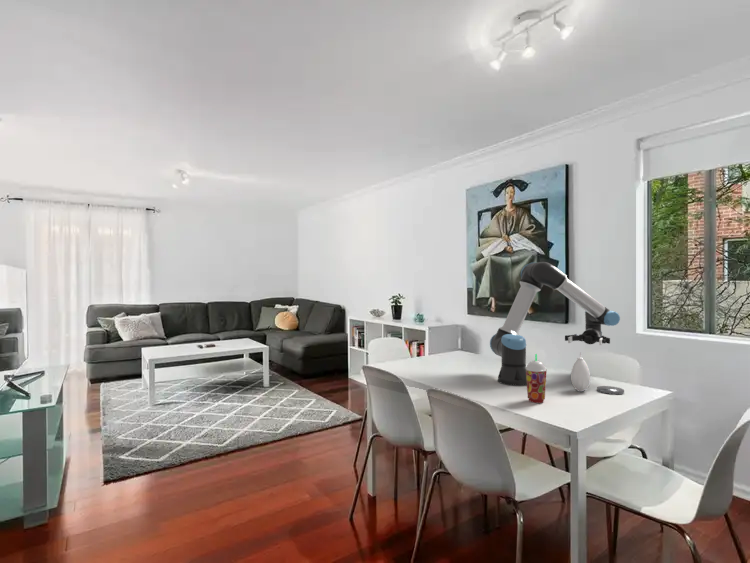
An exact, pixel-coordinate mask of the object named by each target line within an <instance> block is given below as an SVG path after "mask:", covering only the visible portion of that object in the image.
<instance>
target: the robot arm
mask: <svg viewBox="0 0 750 563" xmlns="http://www.w3.org/2000/svg"><path fill="white" fill-rule="evenodd" d="M567 276H568V275H567V274H566V273H564V272H563V271H561V269H559V268H558V267H556V266H555V265H553V264H551V263H549V262H546V261H537V262H530V263H527V264H526V265H524V266H523V267H522V269H521V270H520V280H519V285H520V288H519V289H518V291H517V293H516V296H515V298H514V301H513V303H512V305H511V307H510V309H509V311H508V314H507V316H506V319H505V321H504V323H503V324H502V326H500V327H499V328H498V329H497V330H496V333H495V334H493V335H492V336H491V338H490V340H489V346H490V349H491V351H492V353H493V354H495V355H496V356H498V357H501V367H500V370H499V373H498V376H497V382H498V383H500V384H503V385H507V386H516V387H517V386H518V387H521V386H527V380H526V367H527V340H526V338H525V336H523V335H519V332H520V330H521V328H522V326H523V324H524V321H525V320H526V316H527V315H528V312H529V310H530V308H531V306H532V303H533V301H534V299H535V297H536V295H537V293H538V292H540V291H541V290H542V289H543V287H544V286H547V287H549V288H550V289H552V290H557V291H558V292H560V293H561V294H562V295H564V296H565V297H566V298H567V299H568V300H570V301H571V302H573V303H574V304H576V306H578V307H579V308H581V309H583V311H584V316H585V318H584V319H585V320H584V321H585V328H584V329H585V330H584V331H583V332H582V333H581V334H577V333H575V334H567V335H564V341H566V342H568V344H571V343H572V342H577V341H578V342H583V343H585V344H586V345H594V344H596V343H599V346H602V345H603V344H611V338H610V337H608V336H605V335H602V334H603V332H602V325H604V326H608V327H610V326H611V327H614V326H617V325H618V324H619V322H620V320H621V317H620V314H619V313H618V312H616V311H614V310H610V309H609V308H607V306H605V305H604V304H602V303H600V302H599V301H598V300H597V299H595V298H594V297H592V296H591V295H590V294H588V293H587V292H586V291H585V290H583V289H582V288H581V287H580V286H578V285H577V284H576V283H574V282H573V281H571V280H570V279H569V278H568V277H567Z"/></svg>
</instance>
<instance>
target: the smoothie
mask: <svg viewBox="0 0 750 563" xmlns="http://www.w3.org/2000/svg"><path fill="white" fill-rule="evenodd" d="M534 355H535V357H534V360H532V361H529V363H528V364H526V380H527V385H526V390H527V391H526V394H527V399H528V401H529V402H531V403H534V404H542V403H543V402H544V400H546V387H547V385H546V382H547V368H546V366H545V364H544V363H543V362H541V361H540V360H538V355H537V353H536V354H534Z"/></svg>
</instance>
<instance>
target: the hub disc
mask: <svg viewBox="0 0 750 563" xmlns="http://www.w3.org/2000/svg"><path fill="white" fill-rule="evenodd" d="M596 391H597V392H599V393H600V394H601V393H602V394H606V395H617V396H618V395H624V394H625V390H624V389H623V388H622V387H617V386H611V385H598V386H596Z"/></svg>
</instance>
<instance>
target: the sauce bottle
mask: <svg viewBox="0 0 750 563" xmlns="http://www.w3.org/2000/svg"><path fill="white" fill-rule="evenodd" d="M590 372H591V371H590V369H589V366H588V364H587V362H586V361H585V359H584V358H583V357H582V352H579V357H577V358H576V360H575V361H574V363H573V365H572V368H571V372H570V381H571V384H572V386H573V388H575V389H576V391H578V392H584V391H586V390H587V389H588V388H589V386H590V384H591V374H590Z"/></svg>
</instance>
